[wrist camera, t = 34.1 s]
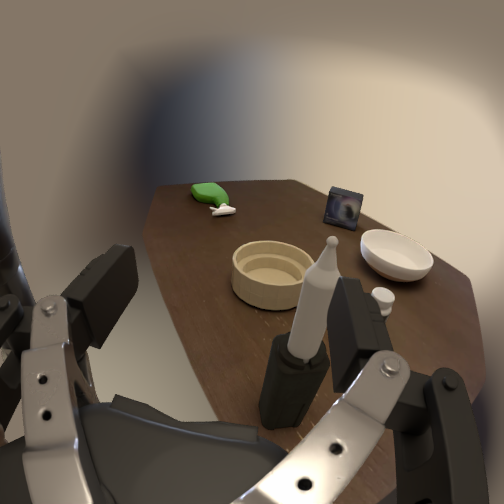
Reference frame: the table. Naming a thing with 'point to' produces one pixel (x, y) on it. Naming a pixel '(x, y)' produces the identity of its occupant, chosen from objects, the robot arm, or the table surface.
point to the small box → (343, 208)
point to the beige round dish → (269, 274)
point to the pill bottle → (384, 301)
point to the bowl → (395, 255)
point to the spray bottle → (213, 197)
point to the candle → (301, 348)
